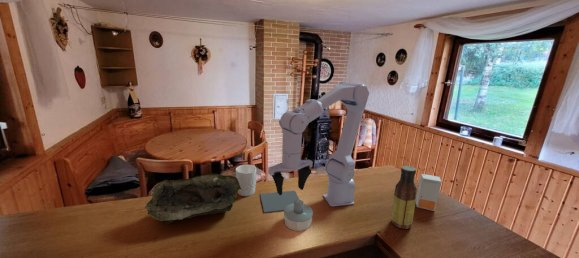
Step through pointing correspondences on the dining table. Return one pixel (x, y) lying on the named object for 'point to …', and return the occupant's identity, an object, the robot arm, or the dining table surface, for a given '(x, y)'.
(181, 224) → the dining table surface
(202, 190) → the hollow geode rock
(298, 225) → the bowl
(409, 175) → the sauce bottle
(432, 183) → the skincare box
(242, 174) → the white cup
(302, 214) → the lid
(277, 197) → the mat
